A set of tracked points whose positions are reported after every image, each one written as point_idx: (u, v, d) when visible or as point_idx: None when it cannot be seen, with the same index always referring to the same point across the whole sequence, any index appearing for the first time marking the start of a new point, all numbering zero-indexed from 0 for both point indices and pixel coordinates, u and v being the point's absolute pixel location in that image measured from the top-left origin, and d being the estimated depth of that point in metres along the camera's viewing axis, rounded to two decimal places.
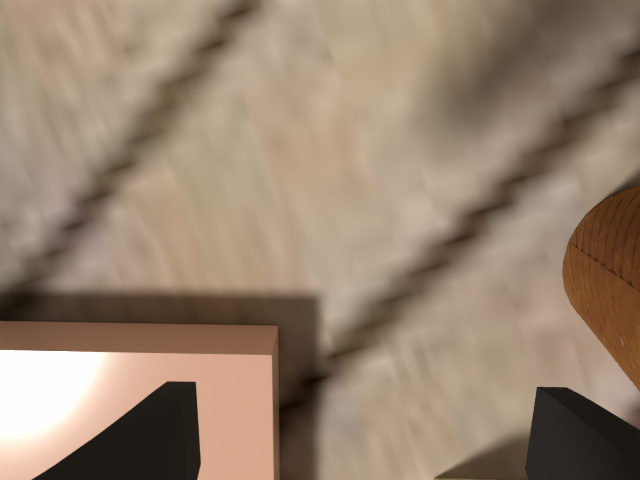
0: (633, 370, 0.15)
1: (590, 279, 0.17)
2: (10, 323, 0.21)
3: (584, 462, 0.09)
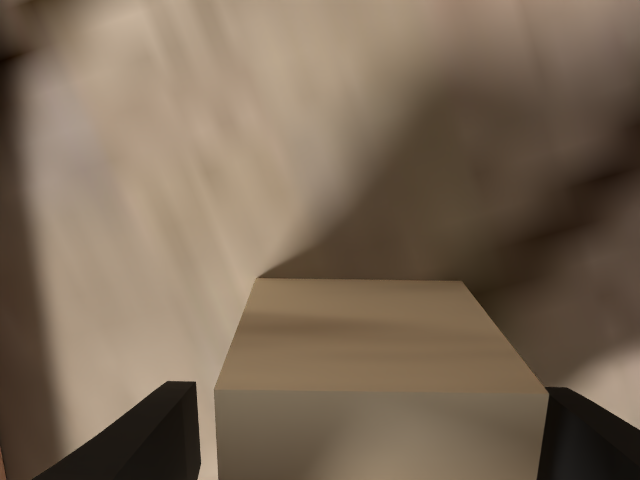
0: None
1: None
2: None
3: (585, 462, 0.09)
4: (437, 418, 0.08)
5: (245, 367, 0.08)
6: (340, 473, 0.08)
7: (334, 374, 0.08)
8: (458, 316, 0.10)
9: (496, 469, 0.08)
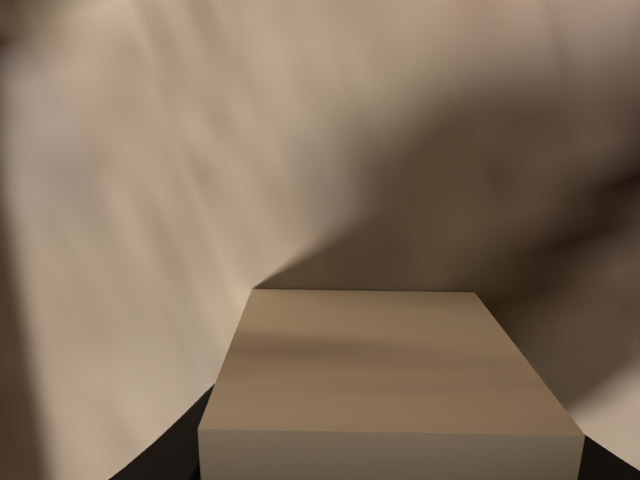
0: None
1: None
2: None
3: None
4: (455, 463, 0.07)
5: (234, 400, 0.07)
6: None
7: (335, 410, 0.07)
8: (474, 336, 0.09)
9: None
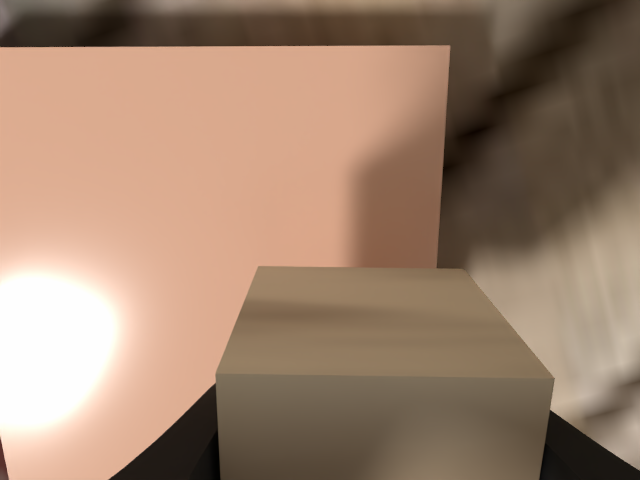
0: None
1: None
2: None
3: None
4: (440, 404, 0.08)
5: (246, 352, 0.08)
6: (343, 459, 0.08)
7: (336, 360, 0.08)
8: (462, 304, 0.10)
9: (500, 455, 0.08)
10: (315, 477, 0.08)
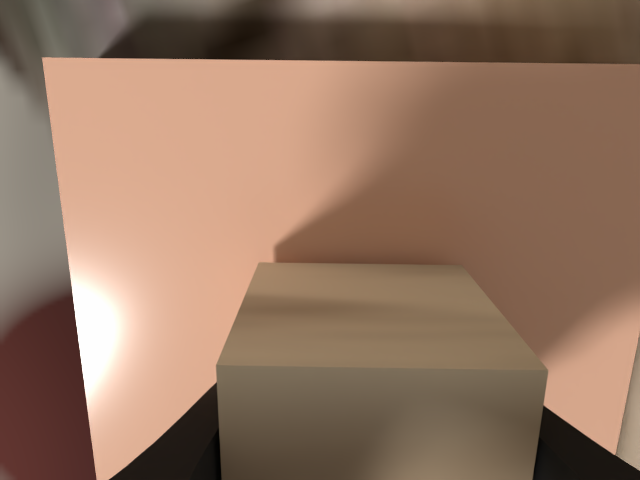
0: None
1: None
2: None
3: None
4: (437, 395, 0.08)
5: (246, 345, 0.08)
6: (340, 448, 0.08)
7: (335, 352, 0.08)
8: (459, 298, 0.10)
9: (496, 446, 0.08)
10: (314, 467, 0.08)
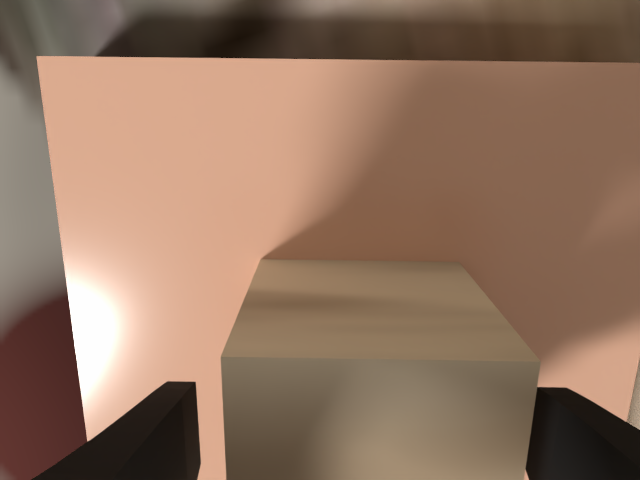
0: None
1: None
2: None
3: (584, 462, 0.09)
4: (434, 385, 0.08)
5: (250, 338, 0.09)
6: (341, 438, 0.08)
7: (335, 344, 0.08)
8: (456, 294, 0.11)
9: (490, 434, 0.08)
10: (315, 455, 0.08)
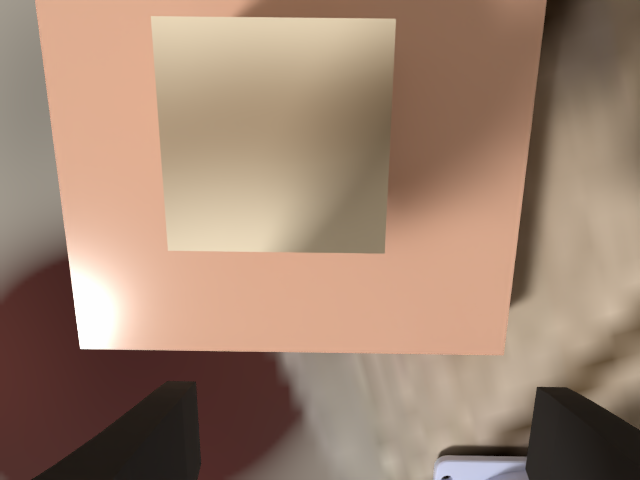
0: None
1: None
2: None
3: (585, 462, 0.09)
4: (315, 41, 0.10)
5: None
6: (246, 91, 0.11)
7: (242, 20, 0.11)
8: None
9: (361, 86, 0.11)
10: (227, 108, 0.11)
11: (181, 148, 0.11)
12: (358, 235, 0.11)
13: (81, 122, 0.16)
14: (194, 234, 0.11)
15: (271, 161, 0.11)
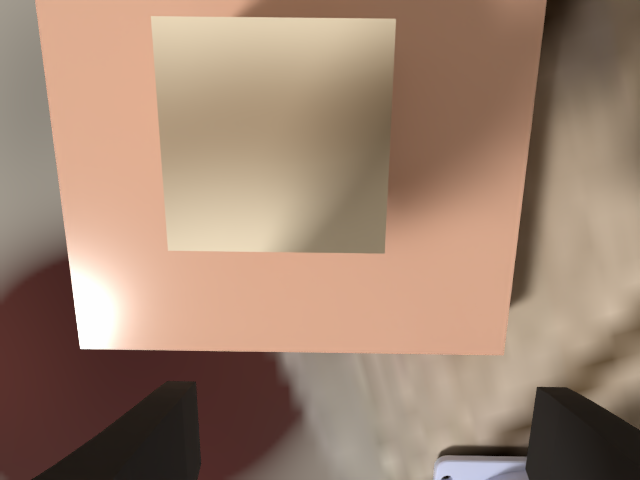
0: None
1: None
2: None
3: (584, 462, 0.09)
4: (315, 41, 0.10)
5: None
6: (246, 91, 0.11)
7: (242, 20, 0.11)
8: None
9: (361, 86, 0.11)
10: (227, 108, 0.11)
11: (181, 148, 0.11)
12: (358, 235, 0.11)
13: (81, 122, 0.16)
14: (195, 234, 0.12)
15: (271, 161, 0.11)
